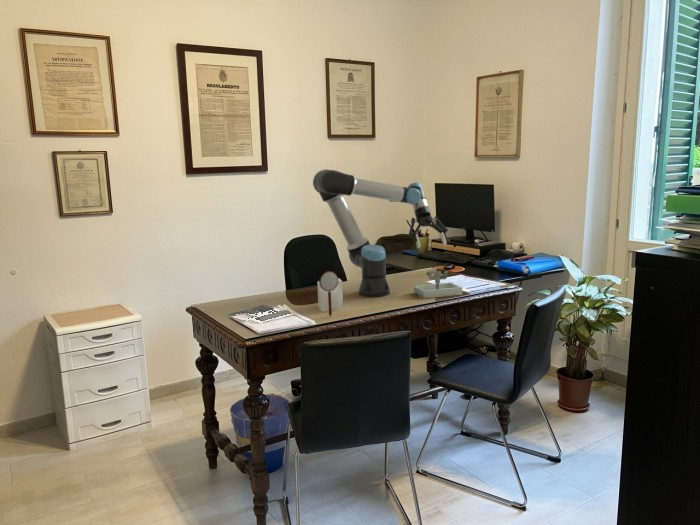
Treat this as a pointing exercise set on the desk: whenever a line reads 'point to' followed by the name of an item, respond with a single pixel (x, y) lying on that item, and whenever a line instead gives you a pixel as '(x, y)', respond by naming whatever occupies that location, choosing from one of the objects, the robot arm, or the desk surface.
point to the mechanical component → (437, 277)
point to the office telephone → (262, 309)
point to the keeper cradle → (438, 290)
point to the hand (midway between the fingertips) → (432, 245)
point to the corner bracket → (335, 297)
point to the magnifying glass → (329, 285)
